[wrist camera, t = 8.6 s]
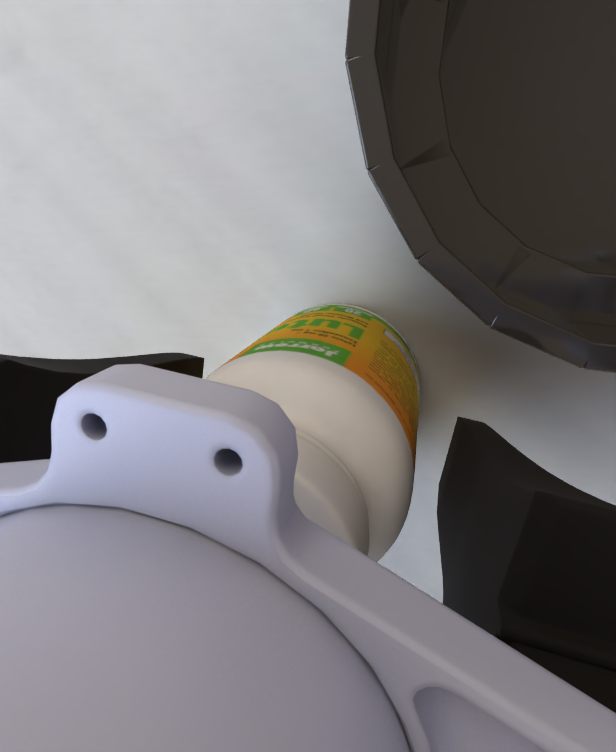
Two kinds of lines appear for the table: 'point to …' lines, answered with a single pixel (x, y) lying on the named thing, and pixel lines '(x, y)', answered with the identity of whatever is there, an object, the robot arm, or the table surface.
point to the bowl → (499, 156)
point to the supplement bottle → (342, 417)
